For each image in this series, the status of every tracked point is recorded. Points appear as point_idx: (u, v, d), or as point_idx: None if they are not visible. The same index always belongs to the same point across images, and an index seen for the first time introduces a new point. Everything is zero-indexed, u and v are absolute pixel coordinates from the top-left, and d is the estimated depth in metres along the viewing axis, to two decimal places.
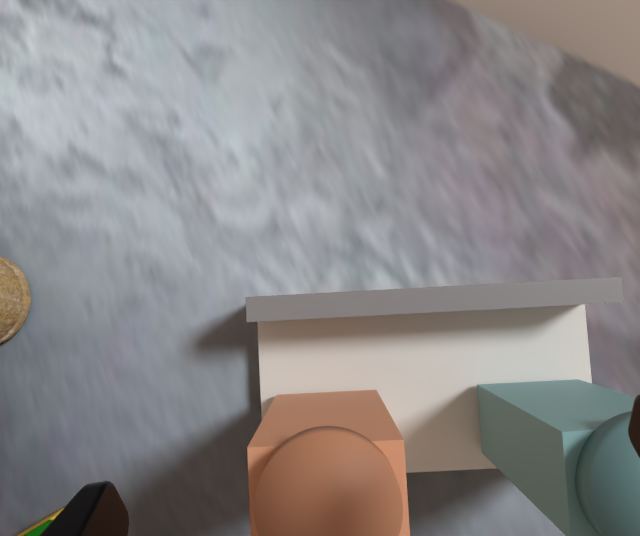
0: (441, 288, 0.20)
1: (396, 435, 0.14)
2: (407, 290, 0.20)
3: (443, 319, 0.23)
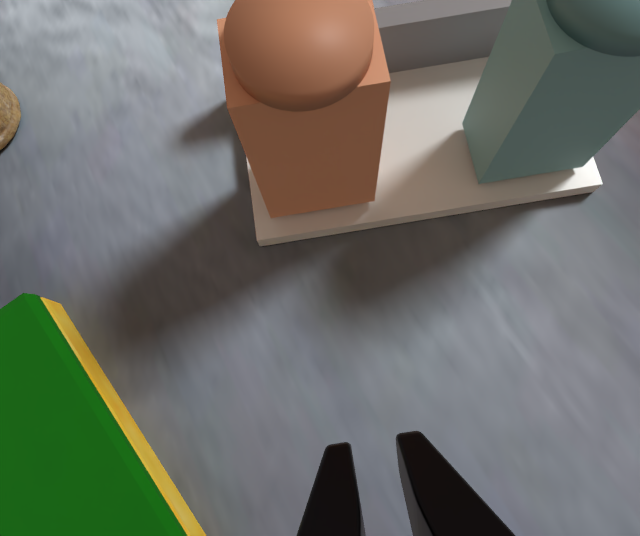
0: (407, 4, 0.20)
1: None
2: (375, 9, 0.20)
3: (420, 76, 0.23)
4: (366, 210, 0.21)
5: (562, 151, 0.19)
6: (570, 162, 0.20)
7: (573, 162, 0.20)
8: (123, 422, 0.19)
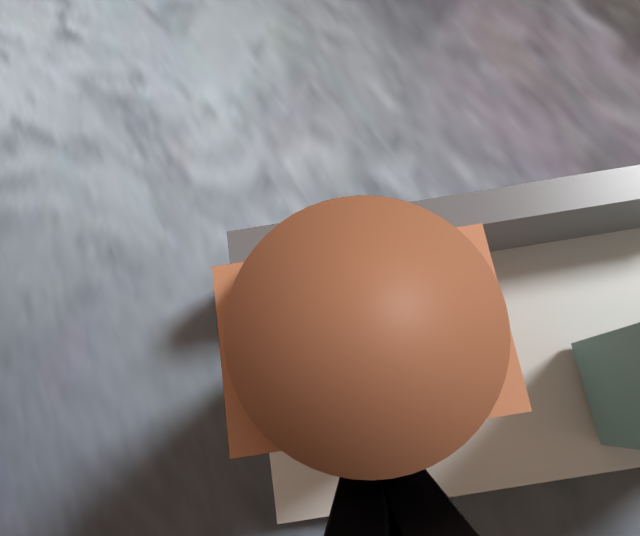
0: (500, 189, 0.14)
1: None
2: (453, 197, 0.14)
3: (504, 262, 0.16)
4: (436, 478, 0.15)
5: None
6: None
7: None
8: None
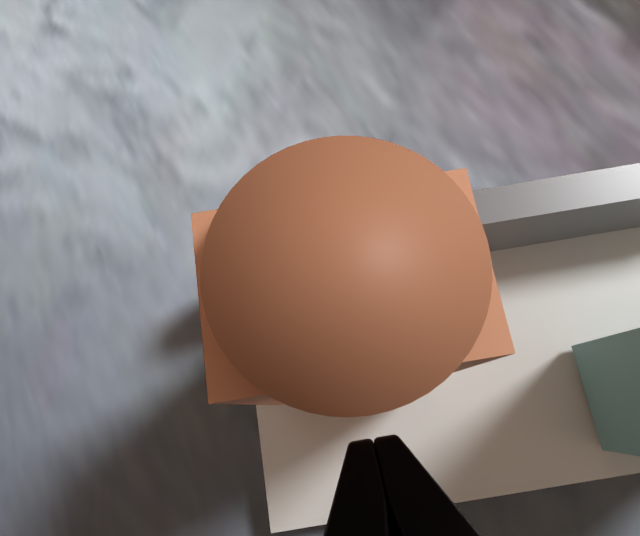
0: (499, 188, 0.13)
1: None
2: None
3: (503, 263, 0.16)
4: None
5: None
6: None
7: None
8: None
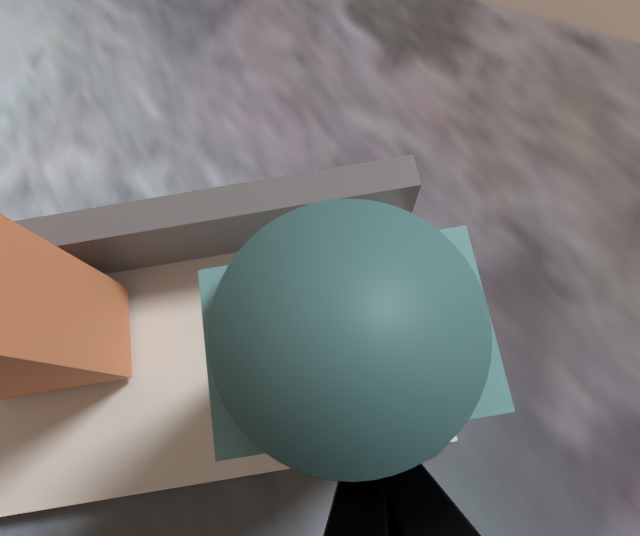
0: (173, 196, 0.14)
1: None
2: (127, 204, 0.14)
3: None
4: (128, 475, 0.15)
5: None
6: None
7: None
8: None
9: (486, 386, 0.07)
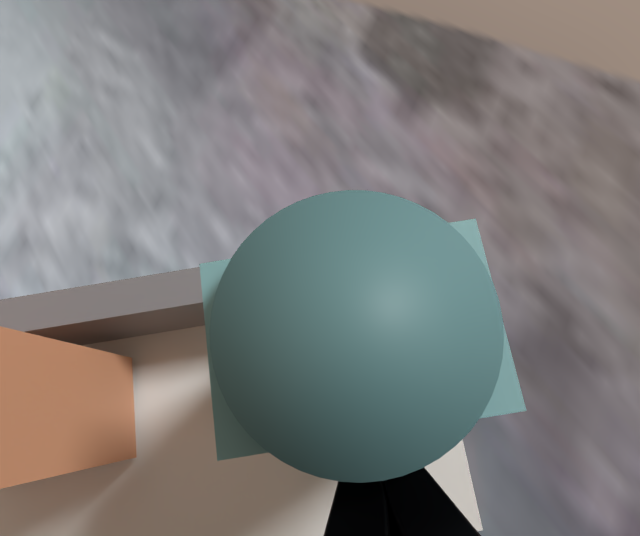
0: (181, 272, 0.13)
1: None
2: (132, 280, 0.13)
3: None
4: None
5: None
6: None
7: None
8: None
9: (496, 384, 0.07)
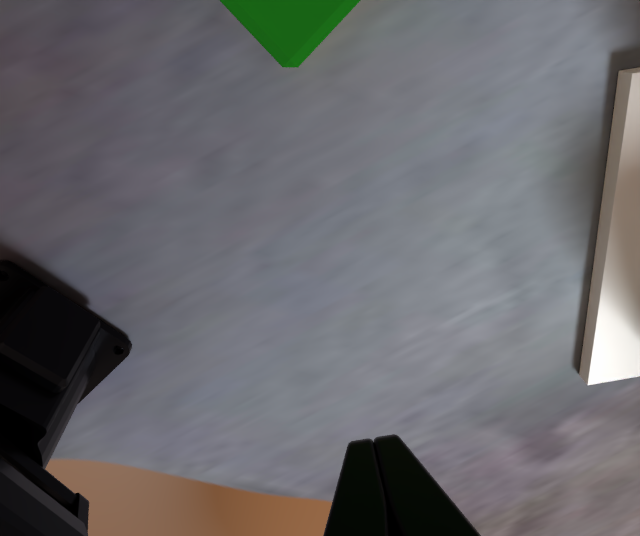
0: None
1: None
2: None
3: None
4: (627, 196, 0.20)
5: None
6: None
7: None
8: None
9: None
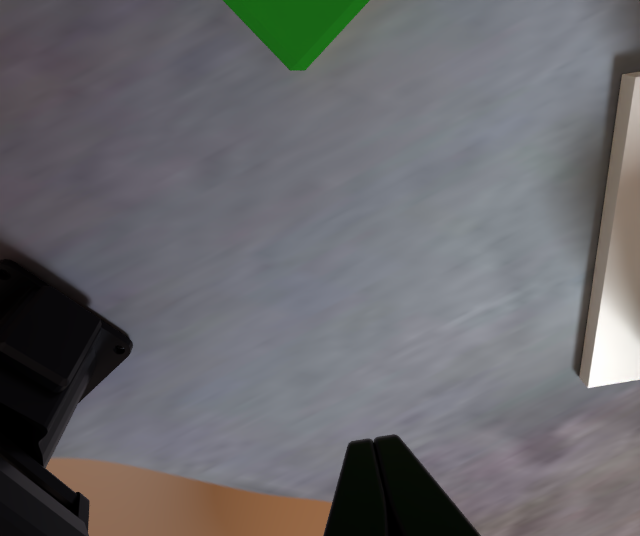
0: None
1: None
2: None
3: None
4: (629, 200, 0.20)
5: None
6: None
7: None
8: None
9: None
